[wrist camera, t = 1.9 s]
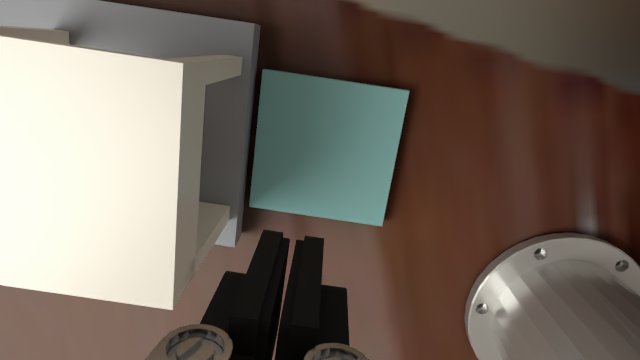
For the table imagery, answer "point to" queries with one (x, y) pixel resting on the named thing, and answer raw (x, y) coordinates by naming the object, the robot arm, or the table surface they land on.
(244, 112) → the puzzle board
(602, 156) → the table surface
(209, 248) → the sliding cover
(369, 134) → the teal mat
